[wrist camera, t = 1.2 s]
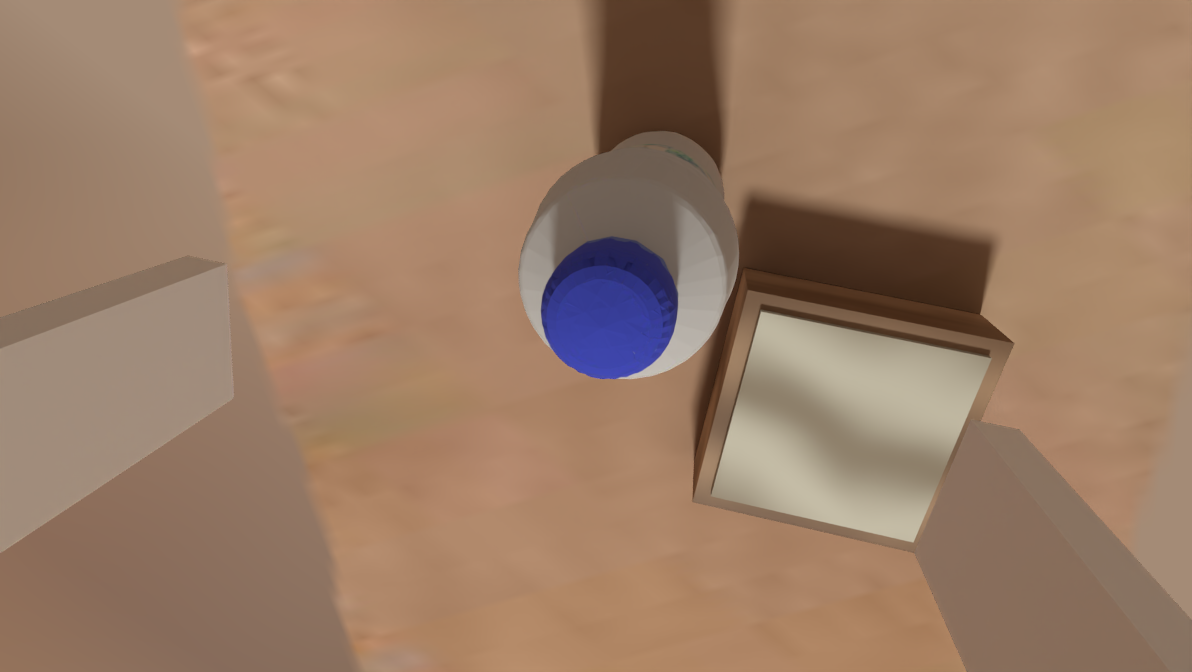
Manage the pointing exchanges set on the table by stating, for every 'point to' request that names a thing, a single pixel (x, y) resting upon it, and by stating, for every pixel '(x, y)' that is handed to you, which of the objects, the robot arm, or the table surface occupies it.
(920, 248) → the table surface
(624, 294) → the bottle
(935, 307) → the picture frame
